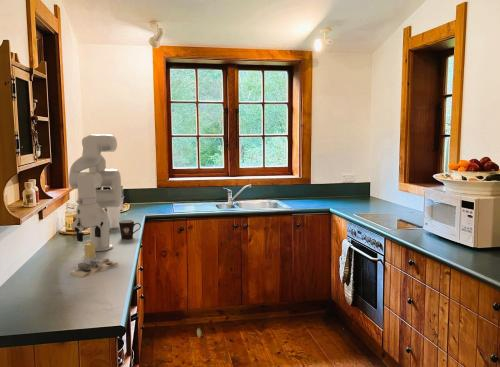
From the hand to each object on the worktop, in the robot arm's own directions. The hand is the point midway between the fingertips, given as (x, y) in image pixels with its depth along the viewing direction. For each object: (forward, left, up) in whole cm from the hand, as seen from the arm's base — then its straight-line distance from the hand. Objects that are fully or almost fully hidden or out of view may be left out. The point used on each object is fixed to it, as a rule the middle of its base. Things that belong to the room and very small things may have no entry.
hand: (89, 239), depth 203 cm
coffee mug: (-15, +58, -15) cm, 62 cm away
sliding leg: (+1, 0, -12) cm, 13 cm away
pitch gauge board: (+1, +1, -14) cm, 15 cm away
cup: (-41, +82, -15) cm, 92 cm away
